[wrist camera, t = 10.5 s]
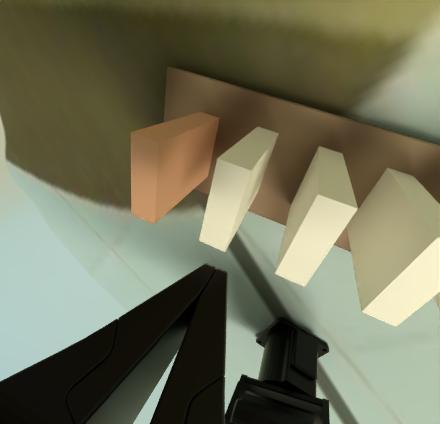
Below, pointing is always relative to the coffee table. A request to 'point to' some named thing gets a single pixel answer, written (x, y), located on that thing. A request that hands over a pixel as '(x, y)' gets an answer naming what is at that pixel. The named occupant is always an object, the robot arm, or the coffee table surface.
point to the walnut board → (298, 142)
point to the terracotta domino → (169, 163)
